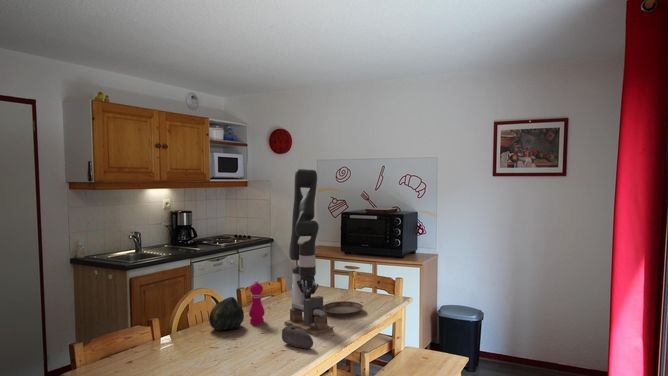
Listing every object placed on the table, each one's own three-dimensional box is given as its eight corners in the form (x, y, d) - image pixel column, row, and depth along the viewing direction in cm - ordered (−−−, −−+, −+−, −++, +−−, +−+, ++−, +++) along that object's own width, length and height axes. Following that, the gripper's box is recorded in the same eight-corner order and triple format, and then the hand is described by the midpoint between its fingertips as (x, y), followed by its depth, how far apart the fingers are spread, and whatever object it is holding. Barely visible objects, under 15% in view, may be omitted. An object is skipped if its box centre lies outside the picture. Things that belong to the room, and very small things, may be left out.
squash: (201, 315, 201) (212, 294, 194) (229, 309, 212) (241, 289, 205) (212, 341, 193) (225, 321, 187) (241, 334, 204) (254, 314, 197)
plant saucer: (318, 318, 213) (317, 311, 213) (326, 306, 233) (326, 300, 233) (360, 320, 209) (360, 313, 209) (365, 308, 230) (365, 301, 230)
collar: (303, 323, 194) (303, 299, 194) (318, 318, 200) (318, 295, 200) (308, 324, 192) (307, 300, 192) (323, 320, 198) (323, 296, 198)
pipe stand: (284, 324, 203) (284, 309, 203) (301, 319, 210) (300, 305, 210) (316, 336, 188) (316, 319, 188) (333, 330, 195) (333, 314, 194)
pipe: (291, 310, 205) (291, 302, 205) (296, 308, 207) (296, 301, 207) (320, 319, 191) (320, 311, 190) (326, 317, 193) (325, 309, 193)
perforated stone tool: (316, 348, 174) (316, 331, 174) (308, 352, 170) (307, 335, 170) (289, 340, 183) (289, 324, 183) (280, 344, 179) (280, 327, 179)
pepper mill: (261, 325, 203) (260, 282, 203) (246, 324, 204) (246, 281, 204) (266, 320, 210) (266, 278, 210) (252, 319, 211) (252, 278, 211)
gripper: (291, 264, 201) (292, 302, 201) (310, 267, 191) (311, 307, 191) (304, 261, 206) (304, 298, 206) (323, 265, 196) (323, 304, 197)
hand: (307, 303), depth 199 cm, fingers closed
